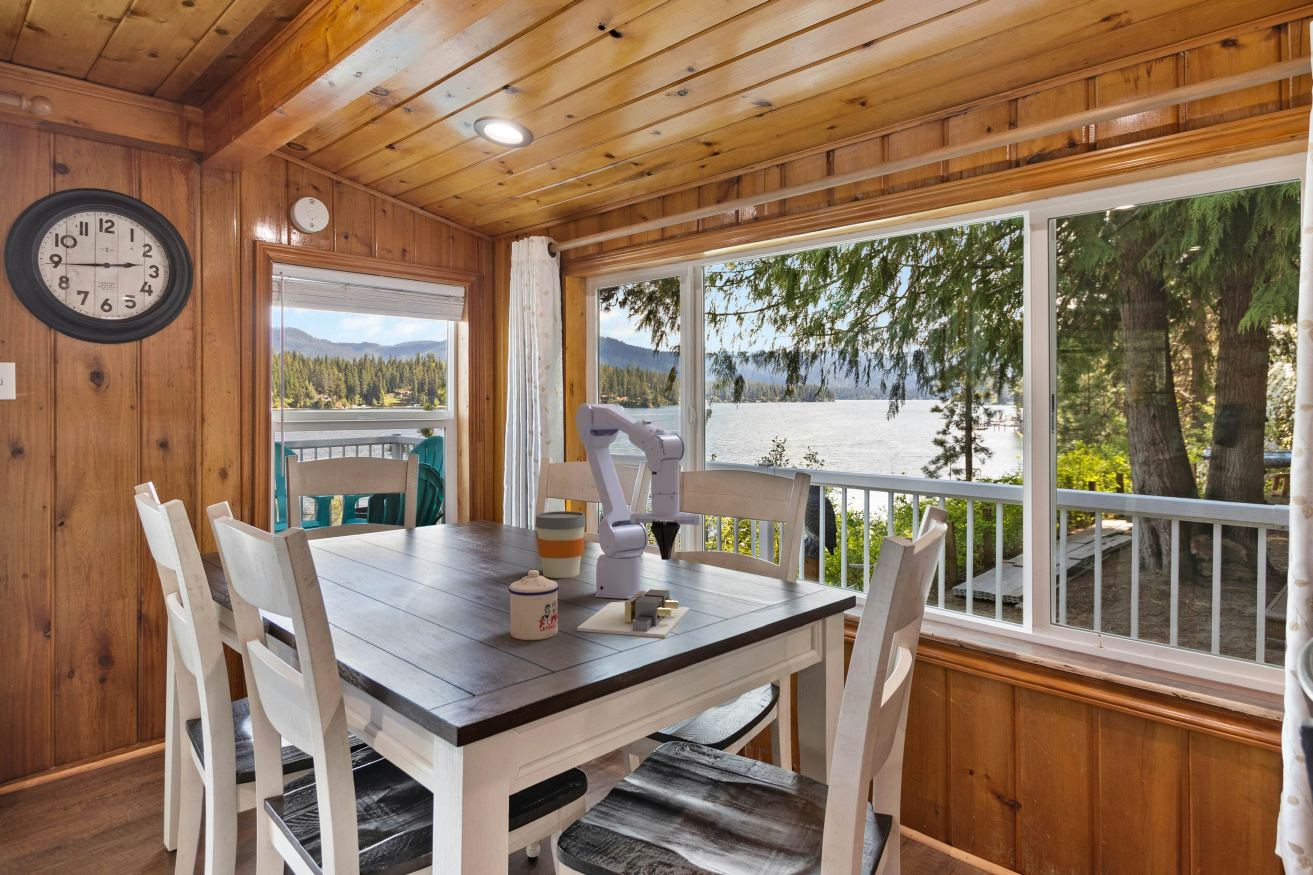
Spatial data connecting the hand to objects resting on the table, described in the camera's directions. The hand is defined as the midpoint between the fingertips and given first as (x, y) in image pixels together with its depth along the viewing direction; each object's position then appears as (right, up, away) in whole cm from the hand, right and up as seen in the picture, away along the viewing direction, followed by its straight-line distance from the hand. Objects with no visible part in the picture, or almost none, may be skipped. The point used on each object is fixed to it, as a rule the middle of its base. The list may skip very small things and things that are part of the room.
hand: (666, 559), depth 154 cm
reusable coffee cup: (-26, -10, +34) cm, 44 cm away
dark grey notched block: (-1, -10, -4) cm, 11 cm away
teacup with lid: (-24, -11, -14) cm, 30 cm away
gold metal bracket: (-3, -10, -8) cm, 13 cm away
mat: (-6, -11, -7) cm, 14 cm away
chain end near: (-4, -10, -13) cm, 17 cm away
